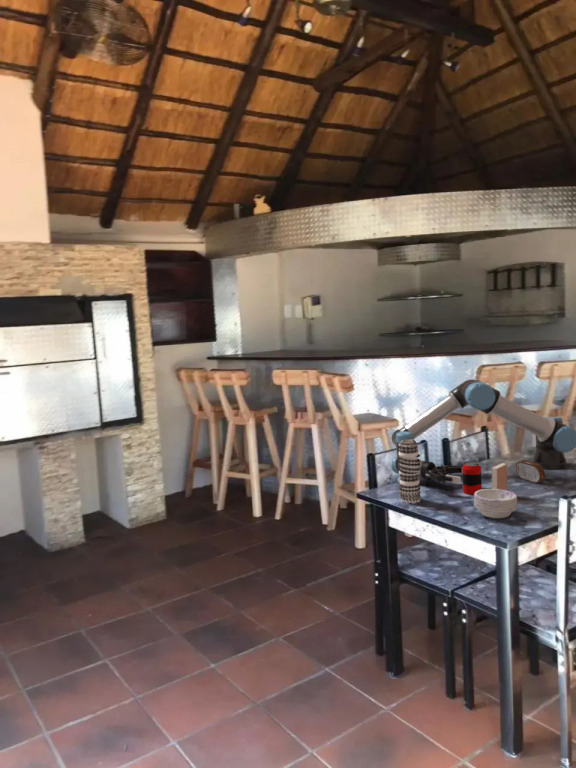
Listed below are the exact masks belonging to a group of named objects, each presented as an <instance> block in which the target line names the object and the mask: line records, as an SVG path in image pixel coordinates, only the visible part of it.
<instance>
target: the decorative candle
mask: <svg viewBox="0 0 576 768" xmlns="http://www.w3.org/2000/svg"><path fill="white" fill-rule="evenodd" d="M398 445H399V454H398V455H397V454H396V457H398V459H397V460H398V462H399V464H398V470H399V484H398V486H399V492H398V493H399V499H400V498H401V500H403V501H404V502H405V501H406V502H409V503H412V504H415V503H414V502H418V503H420V502H421V501H422V500H421V483H420V478H419V473H420V471H419V470H420V468H419V467H418V466H419V465H420V463H418V462H419V461H420V460H421V459H419V458H420V457H421V454H419V450H418V449H419V447H418V446H419V443H417V441H416V440H415V439H414V440H411V439H406V440H402V441H401V442H400V443H399V444H398ZM399 459H400V461H399ZM420 500H421V501H420ZM419 501H420V502H419ZM409 503H408V504H409Z"/></svg>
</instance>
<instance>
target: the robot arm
mask: <svg viewBox="0 0 576 768" xmlns="http://www.w3.org/2000/svg"><path fill="white" fill-rule="evenodd" d="M467 406H470V407H471V408H473V409H474V410H478V411H479V412H482V413H484V414H485V415H489V414H493V415H495V416H497V417H499V418H501V419H503V420H505V421H507V422H509V423H511V424H513V425H515V426H517V427H519V428H521V429H522V430H525V431H526V432H529V433H530V434H533V435H535V450H534V453H533V456H532V459H531V462H533V463H537V464H539V465H540V466H541V467H542V468H543V469H544V470H558V469H559V470H561V469H564V468H567V466H568V465H567V463H568V462H567V458H566V456H565V453H569V452H571V451H573V450H574V449H575V448H576V429H574V428H573V427H572V426H568V425H567V424H565V423H564V421H563V418H562V417H560V416H547V417H545V416H544V417H543V416H541V414H540V415H539V414H537V413H536V412H533V411H531V410H529V408H528V409H527V408H525V407H524V406H522V405H520V404H518V403H516V402H514V401H512V400H510V399H508V398H506V397H504V396H503V395H501V392H500V391H499V390H498V389H496V388H494V387H492V386H491V385H489V384H488V383H486V382H482V381H480V380H477V379H468V380H465V381H463V382H461V383H460V384H459V385H457V386H456V387H455V388H453V389H452V390H451V391H449V392H448V395H447V396H446V397H445V398H443V399H441V400H440V401H438V402H437V403H436V404H434V405H433V406H431V407H430V408H428V409H427V410H425V412H423V413H422V414H420V415H419V416H418V417H416V418H415V419H413V420H412V421H410V422H409V423H407V424H406V425H404V426H403V427H402V428H400V429H395V430H394V431H393V432H392V433H391V442H392V444H393V445H394V446H395V449H396V456H395V457H394V458H393V459H392V461H391V470H392V471H393V473H395V474H399V470H398V464H399V462H398V460H397V459H398V457H397V455H398V454H399V445H398V444H399V443H400V442H401V441H402V440H406V439H411V440H415V439H416V438H419V436H421V435H423V434H424V433H425V432H427V431H429V429H431V428H432V427H434V426H435V425H437V424H438V423H441V421H443V420H444V419H445V418H447V417H448V416H450V415H452V414H453V413H455V411H457V410H463V409H464V408H465V407H467ZM399 461H400V459H399ZM418 463H420V465H419V466H418V467H419V468H420V470H419V471H420V473H419V479H420V478H423V479H428V480H433V481H435V482H437V483H441V484H446V482H447V483H451V484H452V483H454V484H459V485H460V484H461V483H462V481H461V480H462V477H461V476H457V475H453V474H462V467H463V466H464V465H462V464H461V465H446V464H445V465H444V464H441V465H437V466H436V464H435V463H434V462H433V461H427V460H421V459H420V461H419V462H418ZM450 474H452V475H450ZM399 475H400V474H399Z"/></svg>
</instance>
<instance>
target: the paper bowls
mask: <svg viewBox="0 0 576 768" xmlns="http://www.w3.org/2000/svg"><path fill="white" fill-rule="evenodd" d="M473 505H474V508H475V509H477V510H479V512H480V514H481V515H482V516H483V517H487V518H490V519H506V518H508V517H510V515H511V514H512V513H513V512H516V511H517V510H518V496H517V494H516V493H515V492H513V491H509V490H508V489H507V490H501V489H492V488H485V489H483V488H482V490H478V491H476V492H475V493H474V495H473Z"/></svg>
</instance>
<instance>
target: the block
mask: <svg viewBox="0 0 576 768" xmlns="http://www.w3.org/2000/svg"><path fill="white" fill-rule="evenodd" d="M491 489H501V490H507V491H508V465H507V463H504V462H503V463H502V462H501V463H499V464H497V465H495V466H493V467H491Z"/></svg>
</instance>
